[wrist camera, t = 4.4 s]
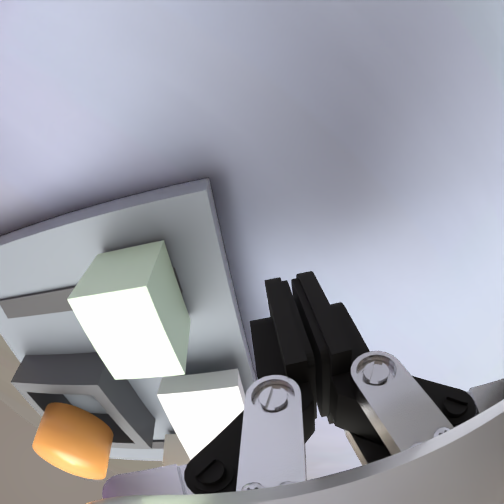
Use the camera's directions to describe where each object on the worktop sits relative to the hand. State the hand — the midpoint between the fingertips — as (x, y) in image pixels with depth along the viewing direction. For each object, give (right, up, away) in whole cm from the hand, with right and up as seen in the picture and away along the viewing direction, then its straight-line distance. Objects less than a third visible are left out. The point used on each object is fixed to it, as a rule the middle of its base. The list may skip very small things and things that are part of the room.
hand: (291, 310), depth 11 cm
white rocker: (-4, -7, +4) cm, 9 cm away
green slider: (-6, +1, +2) cm, 6 cm away
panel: (-9, -5, +7) cm, 13 cm away
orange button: (-12, -8, +3) cm, 14 cm away
